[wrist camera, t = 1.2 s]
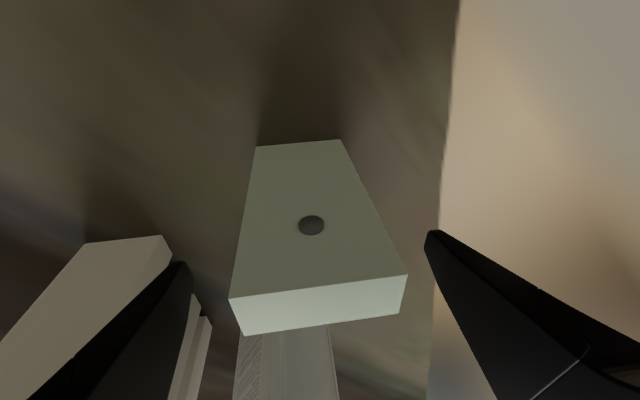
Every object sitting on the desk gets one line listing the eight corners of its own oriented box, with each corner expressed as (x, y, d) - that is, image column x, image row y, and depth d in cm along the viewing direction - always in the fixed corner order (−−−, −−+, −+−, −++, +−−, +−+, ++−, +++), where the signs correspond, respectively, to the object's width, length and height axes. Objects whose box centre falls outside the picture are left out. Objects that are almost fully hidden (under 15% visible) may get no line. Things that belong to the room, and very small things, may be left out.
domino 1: (100, 263, 19) (-38, 453, 10) (84, 243, 17) (-85, 440, 9) (172, 254, 19) (93, 431, 11) (161, 234, 18) (64, 416, 10)
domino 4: (261, 176, 16) (244, 336, 8) (255, 144, 15) (226, 295, 7) (340, 168, 17) (398, 313, 8) (340, 136, 15) (408, 271, 7)
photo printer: (278, 325, 26) (277, 515, 16) (236, 319, 25) (207, 525, 15) (325, 261, 22) (366, 472, 12) (277, 248, 20) (276, 480, 10)
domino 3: (159, 335, 25) (100, 491, 17) (149, 323, 23) (80, 486, 15) (212, 327, 25) (180, 476, 17) (206, 315, 24) (168, 470, 16)
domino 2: (142, 315, 23) (65, 482, 14) (131, 301, 21) (42, 475, 13) (201, 307, 23) (158, 465, 15) (194, 293, 22) (143, 457, 14)
